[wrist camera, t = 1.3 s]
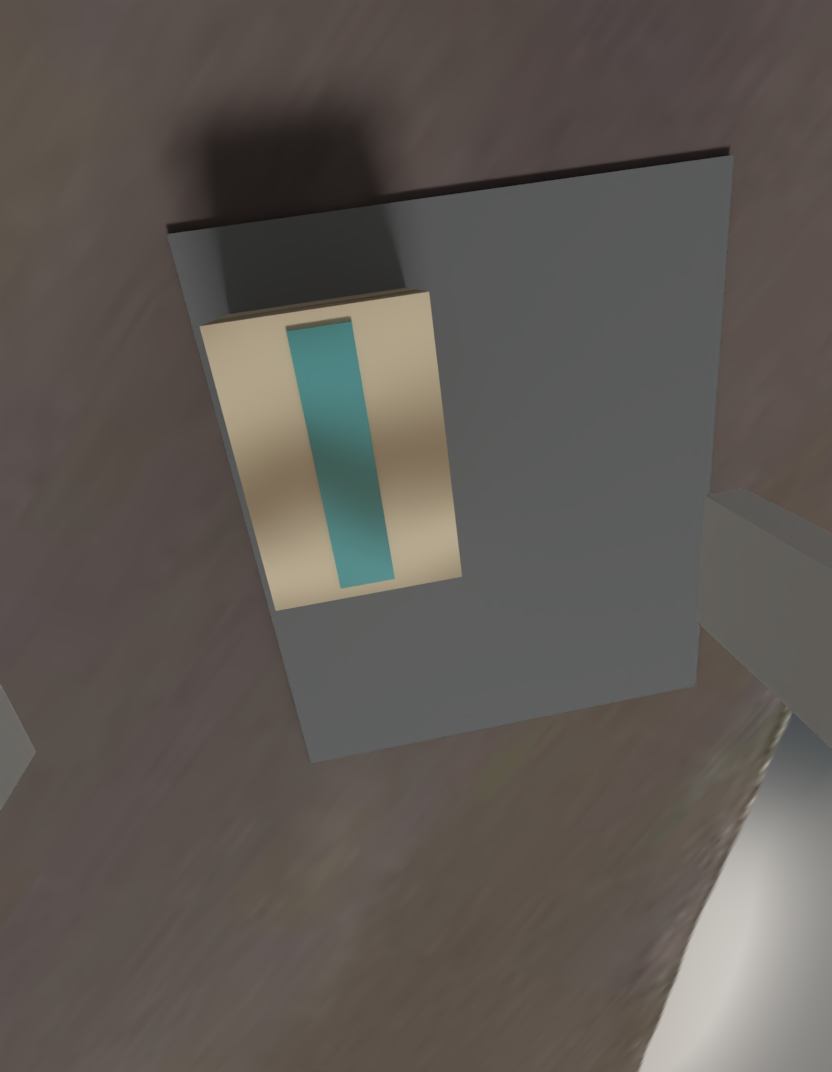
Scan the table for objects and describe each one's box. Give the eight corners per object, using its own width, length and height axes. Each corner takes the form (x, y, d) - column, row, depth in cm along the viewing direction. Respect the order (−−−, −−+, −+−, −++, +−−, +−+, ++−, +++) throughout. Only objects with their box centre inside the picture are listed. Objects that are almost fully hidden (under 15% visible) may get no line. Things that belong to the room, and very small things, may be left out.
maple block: (229, 314, 24) (198, 326, 18) (405, 287, 24) (429, 291, 18) (285, 544, 28) (275, 613, 22) (436, 517, 28) (462, 578, 23)
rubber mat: (168, 234, 22) (166, 234, 22) (729, 156, 24) (733, 154, 24) (311, 759, 33) (311, 763, 33) (692, 682, 35) (695, 685, 34)
